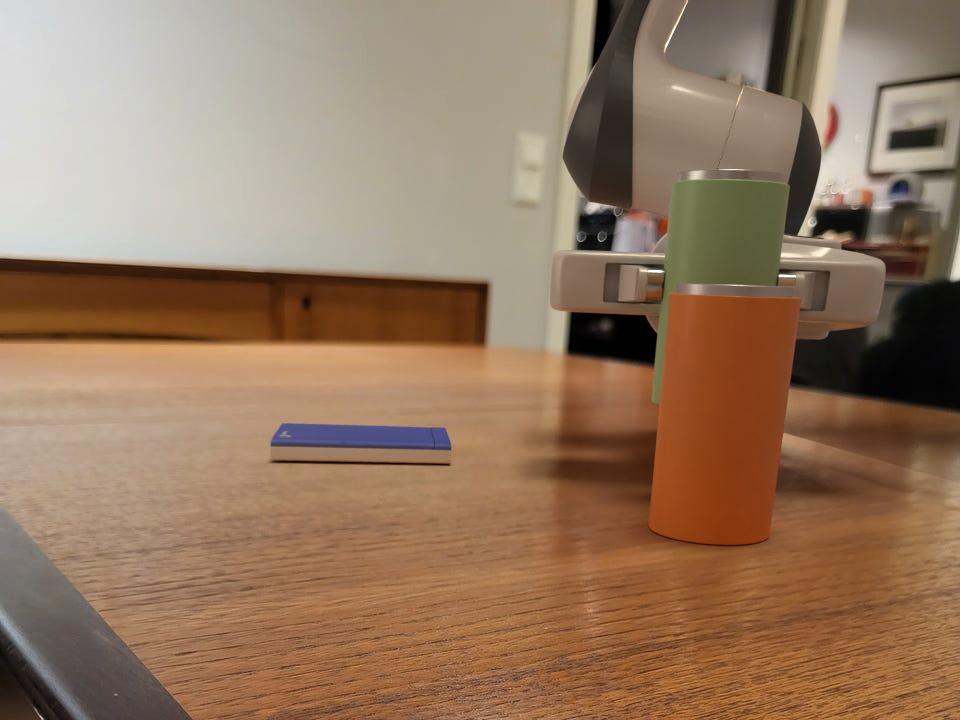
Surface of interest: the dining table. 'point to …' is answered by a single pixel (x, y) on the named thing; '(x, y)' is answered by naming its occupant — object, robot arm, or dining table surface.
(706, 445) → the orange can
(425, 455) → the hard drive
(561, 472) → the dining table surface
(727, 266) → the green can
